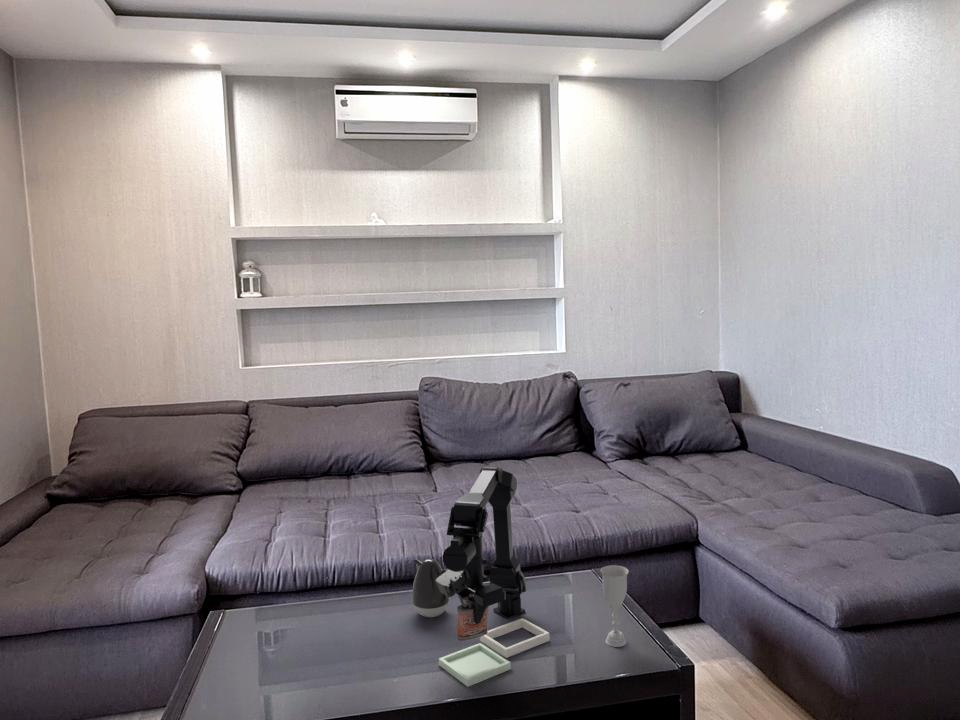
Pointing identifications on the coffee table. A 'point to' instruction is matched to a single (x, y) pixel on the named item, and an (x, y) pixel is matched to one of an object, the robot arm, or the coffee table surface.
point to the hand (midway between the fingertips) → (473, 620)
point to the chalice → (615, 598)
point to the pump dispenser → (428, 589)
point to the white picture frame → (540, 638)
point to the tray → (474, 664)
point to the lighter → (470, 622)
